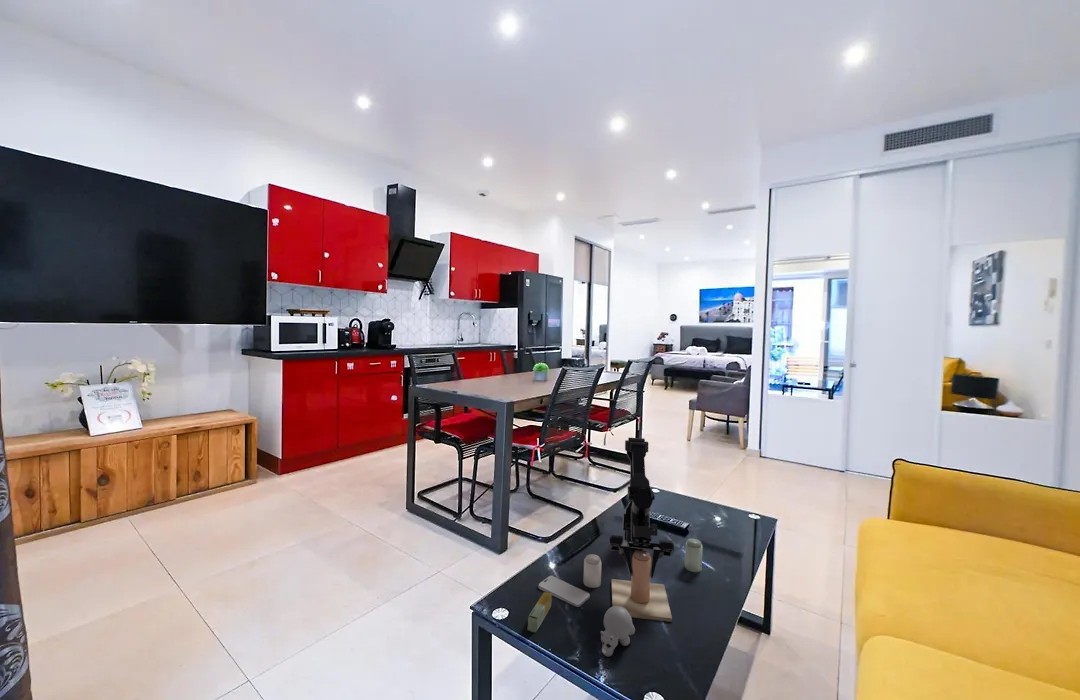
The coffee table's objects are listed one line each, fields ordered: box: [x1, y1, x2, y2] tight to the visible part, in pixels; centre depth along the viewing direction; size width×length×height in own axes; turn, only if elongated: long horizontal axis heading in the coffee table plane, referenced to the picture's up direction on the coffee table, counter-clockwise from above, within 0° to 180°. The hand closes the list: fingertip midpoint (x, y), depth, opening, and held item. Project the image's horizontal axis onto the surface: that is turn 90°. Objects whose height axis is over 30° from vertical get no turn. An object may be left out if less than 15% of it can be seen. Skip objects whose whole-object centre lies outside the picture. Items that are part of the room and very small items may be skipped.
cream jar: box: [582, 553, 602, 589], centre depth 137 cm, size 5×5×8 cm
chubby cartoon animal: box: [599, 606, 636, 657], centre depth 109 cm, size 7×12×8 cm, turn 141°
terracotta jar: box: [630, 549, 652, 603], centre depth 127 cm, size 5×5×13 cm
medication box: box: [526, 591, 553, 633], centre depth 120 cm, size 12×3×4 cm, turn 159°
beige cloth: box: [611, 578, 673, 623], centre depth 128 cm, size 16×16×1 cm
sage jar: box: [684, 538, 704, 573], centre depth 147 cm, size 5×5×9 cm
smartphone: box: [537, 575, 591, 608], centre depth 132 cm, size 7×1×15 cm
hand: (641, 576), depth 126 cm, fingers open, 6 cm apart
